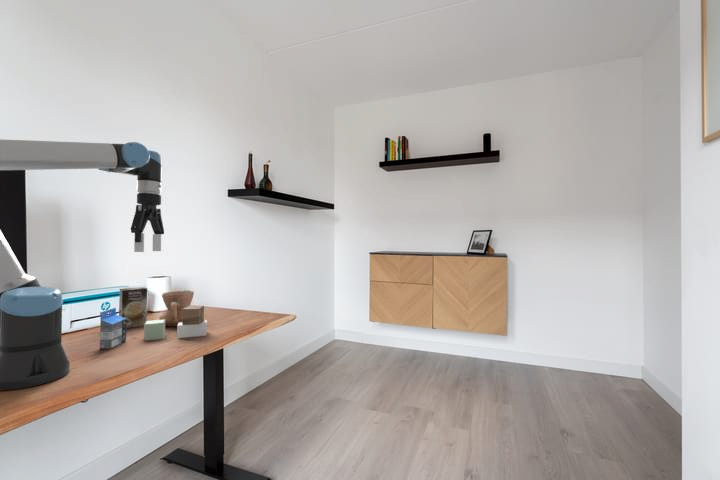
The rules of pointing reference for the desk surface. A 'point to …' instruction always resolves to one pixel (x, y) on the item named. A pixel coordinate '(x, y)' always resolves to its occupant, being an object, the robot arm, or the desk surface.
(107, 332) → the label tape cartridge
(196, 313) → the walnut cube
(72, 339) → the desk surface
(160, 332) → the sage cube
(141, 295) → the coffee box
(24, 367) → the robot arm
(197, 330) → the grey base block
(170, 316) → the ceramic jug
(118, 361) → the desk surface
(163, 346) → the desk surface
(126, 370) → the desk surface
